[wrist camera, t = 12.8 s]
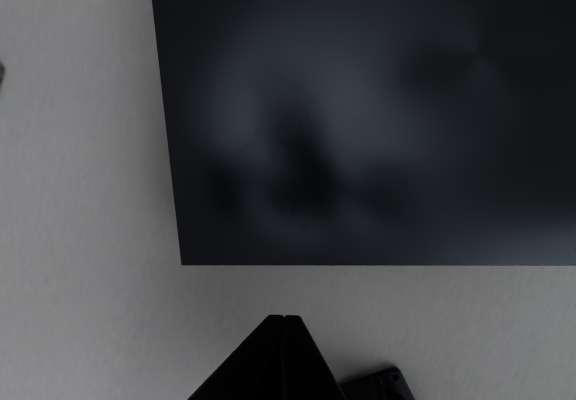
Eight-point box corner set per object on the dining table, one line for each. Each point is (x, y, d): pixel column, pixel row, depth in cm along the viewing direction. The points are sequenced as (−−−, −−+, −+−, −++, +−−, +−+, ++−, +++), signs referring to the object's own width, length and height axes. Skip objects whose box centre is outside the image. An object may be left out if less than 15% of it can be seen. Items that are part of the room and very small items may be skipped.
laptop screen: (750, 259, 16) (773, 265, 15) (186, 259, 18) (181, 265, 17) (908, -256, 11) (952, -284, 11) (140, -174, 14) (130, -192, 13)
